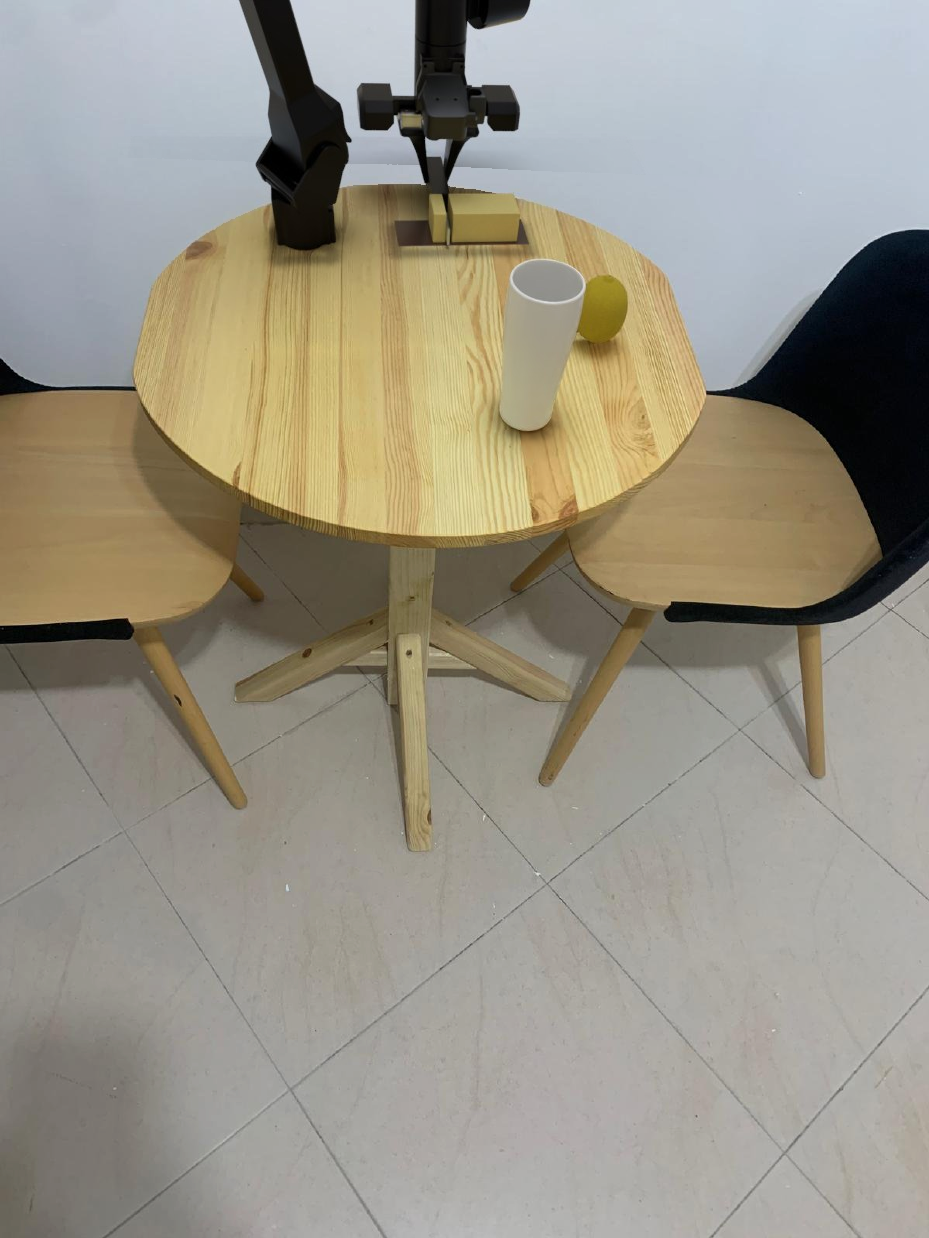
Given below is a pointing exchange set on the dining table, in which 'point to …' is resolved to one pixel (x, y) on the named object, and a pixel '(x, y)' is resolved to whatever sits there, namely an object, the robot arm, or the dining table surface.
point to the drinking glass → (537, 338)
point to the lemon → (603, 309)
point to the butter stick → (483, 217)
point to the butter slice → (437, 218)
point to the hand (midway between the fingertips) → (435, 181)
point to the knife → (438, 185)
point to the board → (421, 236)
